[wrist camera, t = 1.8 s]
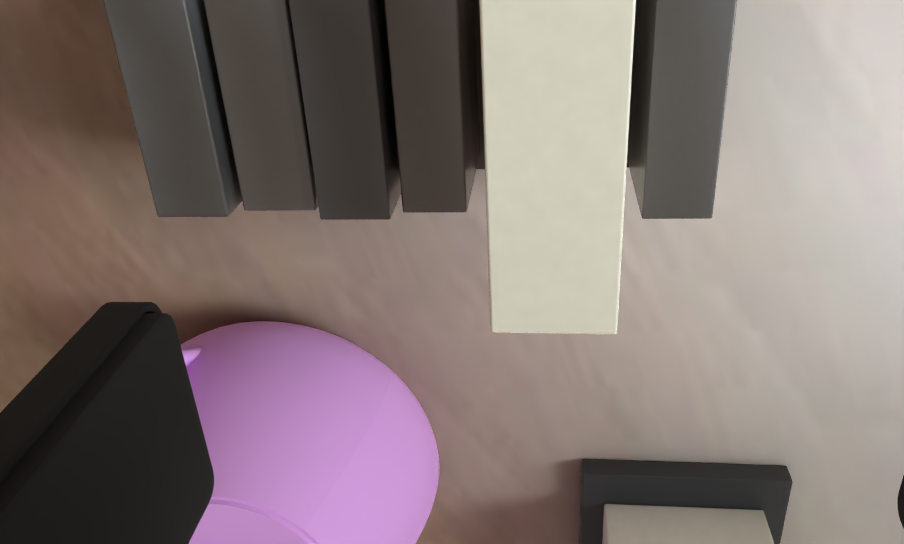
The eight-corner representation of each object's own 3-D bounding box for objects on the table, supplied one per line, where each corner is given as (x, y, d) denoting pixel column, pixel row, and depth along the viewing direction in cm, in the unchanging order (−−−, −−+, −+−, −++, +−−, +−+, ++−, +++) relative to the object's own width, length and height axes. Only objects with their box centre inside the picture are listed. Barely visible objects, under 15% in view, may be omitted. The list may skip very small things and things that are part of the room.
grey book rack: (712, -83, 25) (761, -62, 19) (689, 157, 28) (724, 234, 23) (173, -57, 27) (72, -31, 21) (218, 163, 31) (143, 234, 25)
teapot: (303, 608, 43) (235, 818, 34) (64, 327, 35) (-109, 498, 26) (531, 542, 39) (525, 762, 29) (314, 206, 31) (213, 359, 22)
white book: (602, -74, 24) (637, -23, 15) (593, 168, 28) (617, 335, 18) (505, -70, 25) (478, -17, 15) (510, 169, 28) (490, 333, 19)
